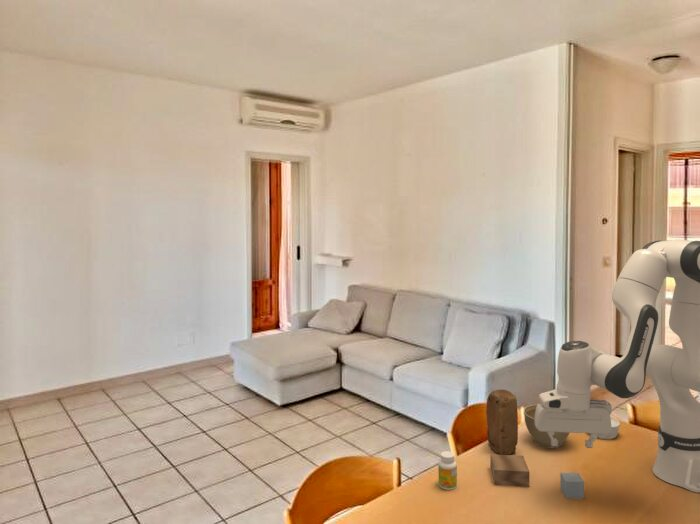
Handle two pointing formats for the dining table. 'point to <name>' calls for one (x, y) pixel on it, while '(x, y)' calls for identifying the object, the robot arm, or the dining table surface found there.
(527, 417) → the planter bowl
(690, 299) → the robot arm
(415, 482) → the dining table surface
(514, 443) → the brown rounded block
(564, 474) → the slate cube
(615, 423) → the ramekin
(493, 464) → the walnut block
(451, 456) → the supplement bottle
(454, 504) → the dining table surface
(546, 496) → the dining table surface
